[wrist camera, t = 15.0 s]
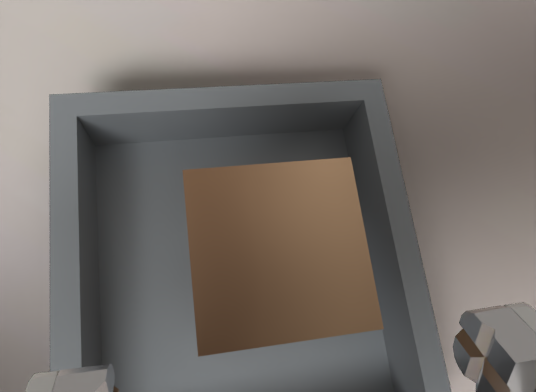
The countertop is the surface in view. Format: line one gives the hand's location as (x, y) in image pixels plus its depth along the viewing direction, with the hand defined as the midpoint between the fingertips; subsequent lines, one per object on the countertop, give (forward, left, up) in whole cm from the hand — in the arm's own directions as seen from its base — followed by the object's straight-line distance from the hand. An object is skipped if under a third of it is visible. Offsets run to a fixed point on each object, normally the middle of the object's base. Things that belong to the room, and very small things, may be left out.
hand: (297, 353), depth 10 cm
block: (0, -2, -9) cm, 9 cm away
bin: (0, -2, -10) cm, 10 cm away
